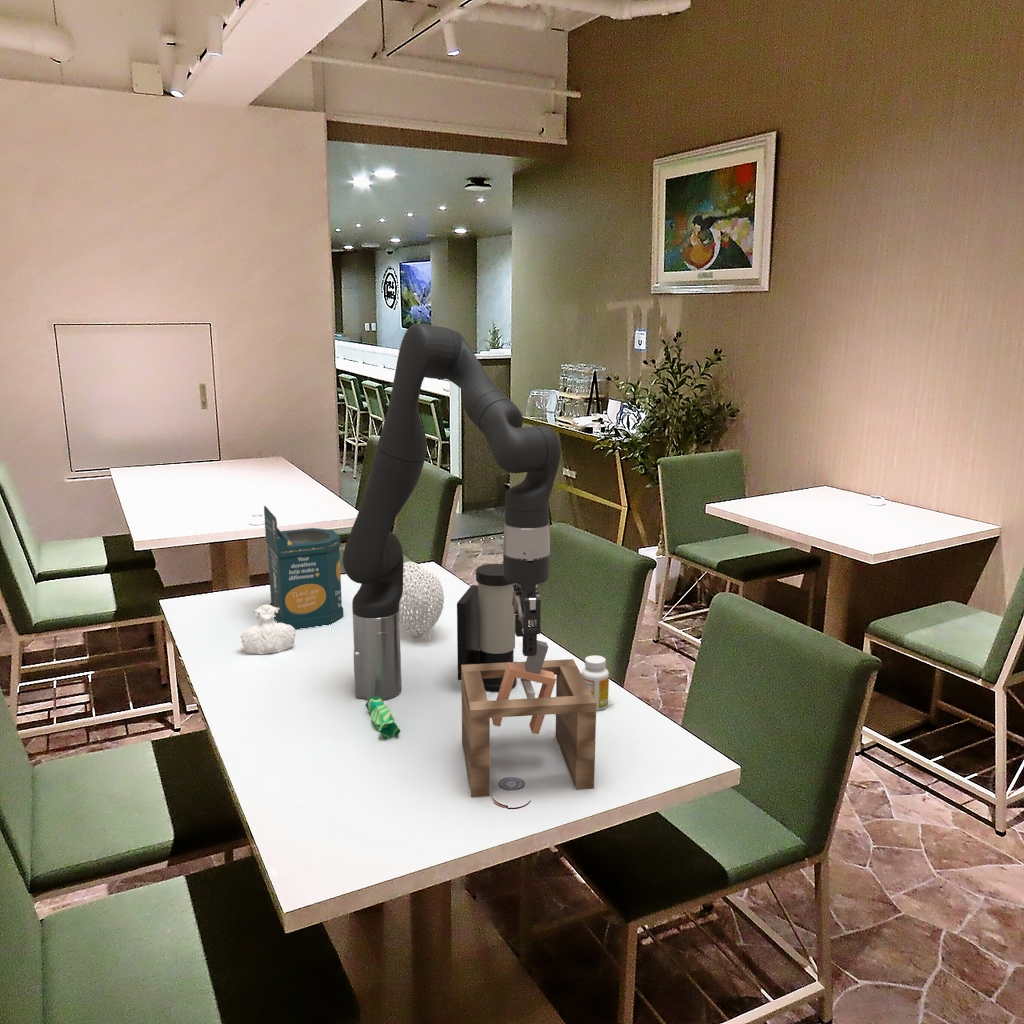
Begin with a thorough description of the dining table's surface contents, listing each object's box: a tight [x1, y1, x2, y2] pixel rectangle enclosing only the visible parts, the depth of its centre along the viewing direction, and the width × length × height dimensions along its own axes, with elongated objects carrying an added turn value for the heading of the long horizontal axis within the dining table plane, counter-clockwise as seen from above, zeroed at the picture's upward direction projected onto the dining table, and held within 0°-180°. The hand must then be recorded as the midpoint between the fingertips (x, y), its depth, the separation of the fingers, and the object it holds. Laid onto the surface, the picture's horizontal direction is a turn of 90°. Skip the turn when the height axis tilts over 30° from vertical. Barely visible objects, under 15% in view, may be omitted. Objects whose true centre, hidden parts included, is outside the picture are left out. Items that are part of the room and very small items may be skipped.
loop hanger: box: [491, 639, 556, 736], centre depth 146 cm, size 8×3×15 cm, turn 97°
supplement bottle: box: [580, 655, 610, 712], centre depth 171 cm, size 5×5×10 cm
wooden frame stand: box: [460, 658, 597, 798], centre depth 148 cm, size 20×18×16 cm
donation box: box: [263, 505, 345, 630], centre depth 218 cm, size 16×16×28 cm
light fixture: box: [456, 563, 518, 693], centre depth 179 cm, size 12×11×25 cm
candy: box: [364, 697, 401, 741], centre depth 163 cm, size 12×3×4 cm
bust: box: [240, 603, 296, 655], centre depth 199 cm, size 12×8×11 cm
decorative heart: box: [399, 561, 445, 643], centre depth 206 cm, size 18×11×17 cm, turn 29°
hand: (525, 645), depth 145 cm, fingers open, 8 cm apart
